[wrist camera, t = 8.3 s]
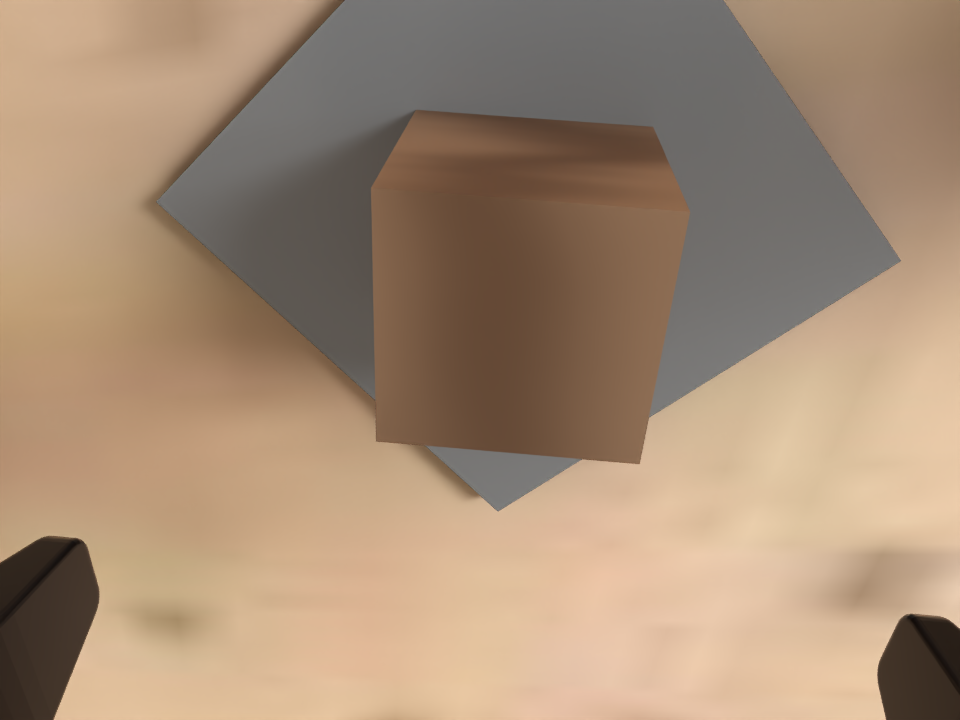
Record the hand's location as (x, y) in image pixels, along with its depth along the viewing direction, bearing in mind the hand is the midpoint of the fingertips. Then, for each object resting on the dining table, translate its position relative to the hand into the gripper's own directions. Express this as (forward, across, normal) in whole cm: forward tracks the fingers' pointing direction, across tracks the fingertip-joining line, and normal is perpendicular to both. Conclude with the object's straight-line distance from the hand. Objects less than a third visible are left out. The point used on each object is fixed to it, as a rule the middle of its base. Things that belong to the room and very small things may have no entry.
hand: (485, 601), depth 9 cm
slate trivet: (+12, 0, 0) cm, 12 cm away
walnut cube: (+11, 0, 0) cm, 11 cm away
